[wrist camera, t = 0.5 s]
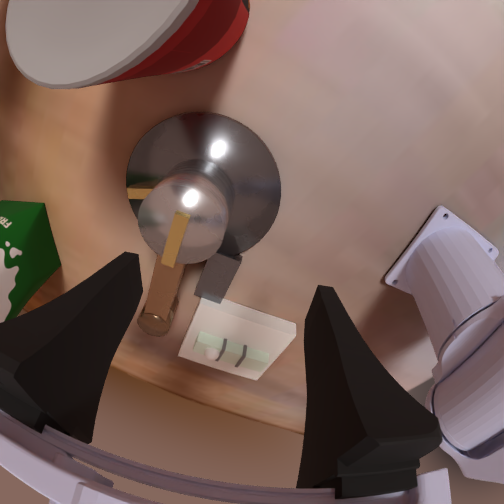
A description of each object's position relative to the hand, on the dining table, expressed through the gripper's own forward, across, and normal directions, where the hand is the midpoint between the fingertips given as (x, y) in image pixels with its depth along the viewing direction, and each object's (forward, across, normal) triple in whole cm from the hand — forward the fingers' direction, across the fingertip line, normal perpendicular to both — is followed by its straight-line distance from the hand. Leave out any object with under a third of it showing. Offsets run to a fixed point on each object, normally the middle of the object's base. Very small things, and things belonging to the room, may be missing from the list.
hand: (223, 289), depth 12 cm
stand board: (+10, 0, +16) cm, 19 cm away
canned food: (+10, +5, -11) cm, 16 cm away
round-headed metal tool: (+9, +5, +5) cm, 12 cm away
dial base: (+10, +4, +2) cm, 11 cm away
